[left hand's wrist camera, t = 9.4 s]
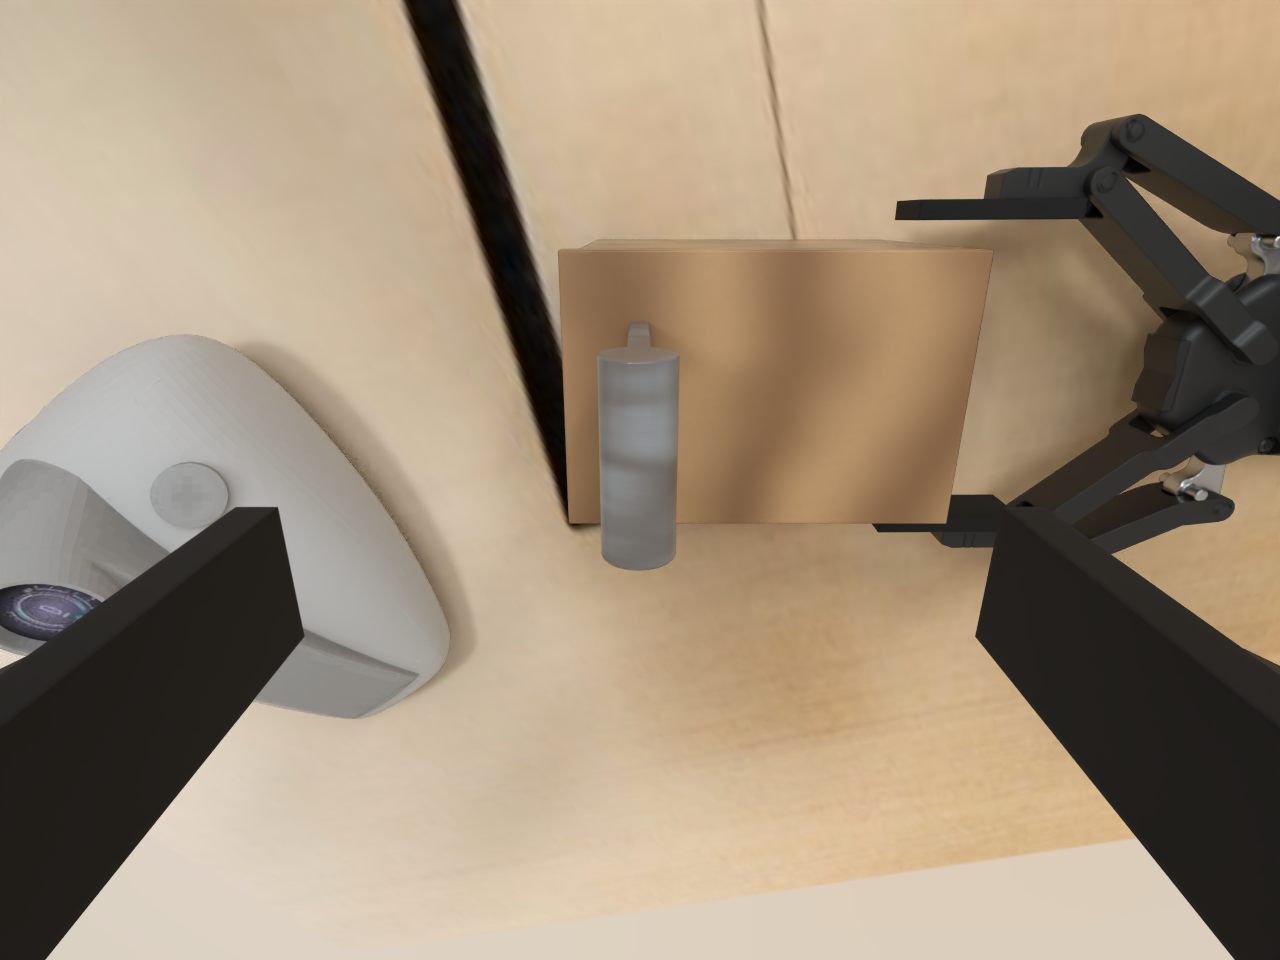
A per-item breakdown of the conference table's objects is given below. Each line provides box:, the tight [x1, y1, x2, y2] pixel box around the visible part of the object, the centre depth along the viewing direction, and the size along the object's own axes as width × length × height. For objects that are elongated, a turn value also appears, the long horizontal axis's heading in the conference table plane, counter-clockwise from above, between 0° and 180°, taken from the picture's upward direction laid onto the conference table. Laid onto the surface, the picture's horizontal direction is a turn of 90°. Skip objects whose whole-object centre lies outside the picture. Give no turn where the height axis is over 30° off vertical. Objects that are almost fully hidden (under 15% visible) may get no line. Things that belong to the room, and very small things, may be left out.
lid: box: [558, 249, 994, 570], centre depth 22 cm, size 15×10×9 cm
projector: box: [0, 335, 450, 719], centre depth 33 cm, size 22×23×15 cm
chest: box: [580, 240, 977, 249], centre depth 31 cm, size 14×10×11 cm
